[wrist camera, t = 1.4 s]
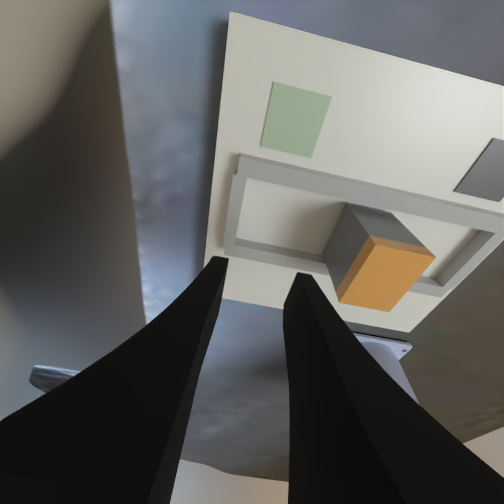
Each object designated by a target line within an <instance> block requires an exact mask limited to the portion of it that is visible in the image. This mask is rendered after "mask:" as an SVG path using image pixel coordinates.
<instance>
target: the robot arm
mask: <svg viewBox="0 0 504 504" xmlns="http://www.w3.org/2000/svg"><path fill="white" fill-rule="evenodd" d="M228 262H229V258H225V257H220V256H213V257H211V259H210V260H209V262H208V263H207V265H206V266H205V267H204V269H203V270H202V271H201V272H200V274H199V275H198V276H197V277H196V278H195V279H194V281H193V282H192V283H191V284H190V285H189V286H188V287H187V288H186V289H185V290H184V291H183V292H182V293H181V294H180V295H179V296H178V297H177V298H176V299H175V300H174V301H173V302H172V303H171V304H170V305H169V306H168V307H167V308H166V309H165V310H164V311H163V312H161V313H160V314H159V315H158V316H157V317H156V318H154V319H153V320H152V321H151V322H150V323H148V324H147V325H146V326H145V327H143V328H142V329H141V330H140V331H139V332H137V333H136V334H134V335H133V336H132V337H131V338H129V339H128V340H127V341H125V342H124V343H122V344H121V345H120V346H118V347H117V348H116V349H114V350H113V351H112V352H110V353H108V354H107V355H105V356H104V357H102V358H101V359H99V360H98V361H96V362H95V363H93V364H92V365H91V366H89V367H87V368H86V369H85V370H83V371H81V372H80V373H78V374H77V375H75V376H74V377H72V378H71V379H69V380H67V381H66V382H64V383H63V384H61V385H59V386H57V387H56V388H54V389H52V390H51V391H49V392H47V393H46V394H44V395H42V396H41V397H39V398H38V399H36V400H34V401H32V402H31V403H29V404H27V405H26V406H24V407H22V408H21V409H19V410H17V411H16V412H14V413H12V414H10V415H9V416H7V417H6V418H4V419H3V420H1V421H0V504H170V500H171V495H172V491H173V487H174V482H175V478H176V473H177V468H178V464H179V460H180V456H181V451H182V447H183V442H184V438H185V434H186V429H187V425H188V421H189V416H190V412H191V408H192V403H193V399H194V395H195V390H196V386H197V382H198V378H199V374H200V370H201V367H202V364H203V361H204V357H205V354H206V351H207V348H208V345H209V342H210V339H211V336H212V333H213V329H214V326H215V323H216V320H217V317H218V313H219V309H220V304H221V299H222V295H223V290H224V284H225V279H226V273H227V268H228ZM283 331H284V341H285V351H286V361H287V370H288V380H289V406H290V450H289V491H288V504H504V478H503V477H502V476H501V475H499V474H498V473H497V472H496V471H495V470H493V469H492V468H491V467H490V466H489V465H487V464H486V463H485V462H484V461H482V460H481V459H480V458H479V457H478V456H477V455H475V454H474V453H472V452H471V451H470V450H469V449H468V448H467V447H466V446H464V445H463V444H462V443H461V442H460V441H459V440H458V439H456V438H455V437H454V436H453V435H452V434H451V433H450V432H449V431H447V430H446V429H445V428H444V427H443V426H442V425H441V424H440V423H438V422H437V421H436V420H435V419H434V418H433V417H432V416H431V415H430V414H429V413H428V412H426V411H425V410H424V409H423V408H422V407H421V406H420V405H419V403H418V400H417V398H416V396H415V394H414V392H413V390H412V388H411V386H410V384H409V382H408V380H407V378H406V376H405V374H404V371H403V369H402V367H401V365H400V363H399V361H398V360H399V359H400V358H401V357H403V356H404V355H405V354H406V353H407V352H408V351H409V350H410V349H411V348H412V346H411V344H410V343H407V342H402V341H396V340H391V339H385V338H380V337H374V336H369V335H363V334H357V333H352V331H351V330H350V329H349V328H348V326H347V325H346V324H345V322H344V321H343V320H342V318H341V317H340V316H339V314H338V313H337V311H336V310H335V309H334V307H333V306H332V304H331V303H330V301H329V300H328V298H327V297H326V295H325V294H324V292H323V291H322V289H321V288H320V286H319V285H318V283H317V282H316V280H315V279H314V278H313V276H312V275H311V274H306V273H301V272H297V274H296V276H295V279H294V281H293V283H292V286H291V288H290V290H289V293H288V295H287V297H286V300H285V302H284V306H283Z"/></svg>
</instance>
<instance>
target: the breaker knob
mask: <svg viewBox="0 0 504 504" xmlns="http://www.w3.org/2000/svg"><path fill="white" fill-rule="evenodd" d="M322 253H323V256H324V259H325V262H326V265H327V268H328V271H329V274H330V277H331V280H332V283H333V286H334V289H335V292H336V295H337V298H338V301H339V303H343V304H348V305H354V306H359V307H364V308H369V309H375V310H380V311H385V312H390V311H391V310H392V309H393V307H394V306H395V305H396V304H397V303H398V302H399V300H400V299H401V298H402V297H403V296H404V295H405V293H406V292H407V291H408V290H409V289H410V288H411V286H412V285H413V284H414V283H415V282H416V281H417V279H418V278H419V277H420V276H421V275H422V274H423V272H424V271H425V270H426V269H427V268H428V267H429V265H430V264H431V263H432V262H433V261H434V260H435V258H436V257H435V256H434V255H433V254H432V253H431V252H430V251H429V250H428V249H427V248H426V247H425V246H424V245H423V244H422V243H421V242H420V241H419V240H418V239H417V238H416V237H415V236H414V235H413V234H412V233H411V232H410V231H409V230H408V229H407V228H406V227H405V226H404V225H403V224H402V223H401V222H400V221H399V220H398V219H397V218H396V217H395V216H394V215H393V214H392V213H391V212H386V211H382V210H378V209H373V208H369V207H364V206H360V205H355V204H351V203H346V204H345V207H344V209H343V211H342V213H341V215H340V217H339V219H338V221H337V223H336V225H335V227H334V229H333V232H332V234H331V236H330V238H329V240H328V242H327V244H326V246H325V248H324V250H323V252H322Z"/></svg>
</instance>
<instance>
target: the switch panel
mask: <svg viewBox="0 0 504 504" xmlns="http://www.w3.org/2000/svg"><path fill="white" fill-rule="evenodd" d="M346 203H351V204H355V205H360V206H364V207H369V208H373V209H378V210H382V211H386V212H391V213H392V214H393V215H394V216H395V217H396V218H397V219H398V220H399V221H400V222H401V223H402V224H403V225H404V226H405V227H406V228H407V229H408V230H409V231H410V232H411V233H412V234H413V235H414V236H415V237H416V238H417V239H418V240H419V241H420V242H421V243H422V244H423V245H424V246H425V247H426V248H427V249H428V250H429V251H430V252H431V253H432V254H433V255H434V256H435V257H436V258H435V260H434V261H433V262H432V263H431V264H430V265H429V267H428V268H427V269H426V270H425V271H424V272H423V274H422V275H421V276H420V277H419V278H418V279H417V281H416V282H415V283H414V284H413V285H412V286H411V288H410V289H409V290H408V291H407V292H406V293H405V295H404V296H403V297H402V298H401V299H400V300H399V302H398V303H397V304H396V305H395V306H394V307H393V309H392V310H391V311H390V312H385V311H380V310H375V309H369V308H364V307H359V306H354V305H348V304H343V303H339V301H338V298H337V295H336V292H335V289H334V286H333V283H332V280H331V277H330V274H329V271H328V268H327V265H326V262H325V259H324V256H323V253H322V252H323V250H324V248H325V246H326V244H327V242H328V240H329V238H330V236H331V234H332V232H333V229H334V227H335V225H336V223H337V221H338V219H339V217H340V215H341V213H342V211H343V209H344V207H345V204H346ZM503 240H504V86H501V85H497V84H493V83H490V82H486V81H482V80H479V79H475V78H471V77H468V76H464V75H461V74H457V73H453V72H450V71H446V70H442V69H439V68H435V67H431V66H428V65H424V64H420V63H417V62H413V61H409V60H406V59H402V58H399V57H395V56H391V55H388V54H384V53H380V52H377V51H373V50H369V49H366V48H362V47H358V46H355V45H351V44H348V43H344V42H340V41H337V40H333V39H329V38H326V37H322V36H318V35H315V34H311V33H307V32H304V31H300V30H296V29H293V28H289V27H286V26H282V25H278V24H275V23H271V22H267V21H264V20H260V19H256V18H253V17H249V16H245V15H242V14H238V13H234V12H231V11H230V16H229V26H228V35H227V45H226V55H225V65H224V74H223V84H222V94H221V104H220V113H219V123H218V133H217V143H216V152H215V162H214V172H213V181H212V191H211V201H210V211H209V220H208V230H207V240H206V250H205V259H204V267H205V266H206V265H207V263H208V262H209V260H210V259H211V257H213V256H220V257H225V258H229V262H228V268H227V273H226V279H225V284H224V290H223V295H222V298H224V299H230V300H235V301H241V302H246V303H252V304H257V305H263V306H268V307H273V308H279V309H283V306H284V302H285V300H286V297H287V295H288V293H289V290H290V288H291V286H292V283H293V281H294V279H295V276H296V274H297V272H301V273H306V274H311V275H312V276H313V278H314V279H315V280H316V282H317V283H318V285H319V286H320V288H321V289H322V291H323V292H324V294H325V295H326V297H327V298H328V300H329V301H330V303H331V304H332V306H333V307H334V309H335V310H336V311H337V313H338V314H339V316H340V317H341V318H342V320H344V321H349V322H355V323H360V324H366V325H371V326H377V327H382V328H387V329H393V330H398V331H404V332H410V331H411V330H412V329H413V328H414V327H415V326H416V325H417V324H418V323H419V322H420V321H421V320H422V319H423V318H424V317H425V316H427V315H428V314H429V313H430V312H431V311H432V310H433V309H434V308H435V307H436V306H437V305H438V304H439V303H440V302H441V301H442V300H443V299H444V298H445V297H446V296H447V295H448V294H449V293H450V292H451V291H452V290H453V289H454V288H455V287H456V286H457V285H458V284H459V283H460V282H461V281H462V280H463V279H464V278H465V277H466V276H467V275H468V274H469V273H470V272H471V271H472V270H473V269H474V268H475V267H476V266H477V265H479V264H480V263H481V262H482V261H483V260H484V259H485V258H486V257H487V256H488V255H489V254H490V253H491V252H492V251H493V250H494V249H495V248H496V247H497V246H498V245H499V244H500V243H501V242H502V241H503Z"/></svg>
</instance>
